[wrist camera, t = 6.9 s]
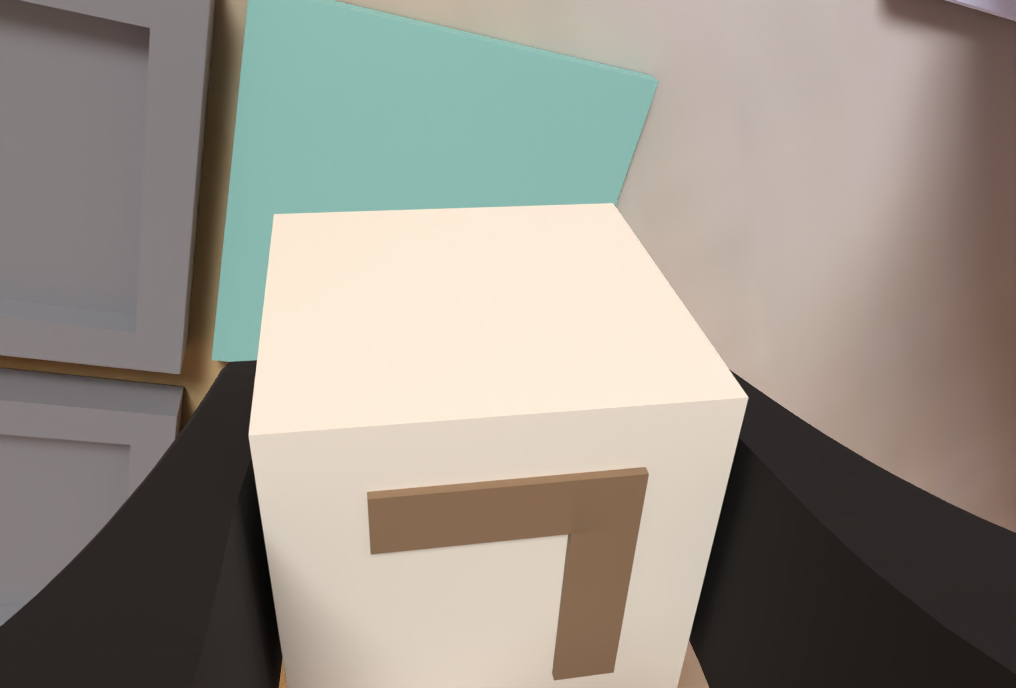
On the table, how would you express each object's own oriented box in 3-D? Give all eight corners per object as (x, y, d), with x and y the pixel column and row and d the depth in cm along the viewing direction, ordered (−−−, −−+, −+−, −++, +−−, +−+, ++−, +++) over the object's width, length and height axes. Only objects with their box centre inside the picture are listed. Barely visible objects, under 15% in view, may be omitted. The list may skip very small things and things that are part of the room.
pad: (651, 75, 15) (658, 81, 15) (544, 387, 19) (548, 397, 19) (250, -19, 13) (249, -15, 13) (213, 349, 17) (211, 359, 17)
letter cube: (613, 202, 12) (752, 403, 8) (582, 456, 14) (678, 701, 10) (273, 214, 11) (247, 442, 7) (303, 479, 13) (296, 755, 9)
